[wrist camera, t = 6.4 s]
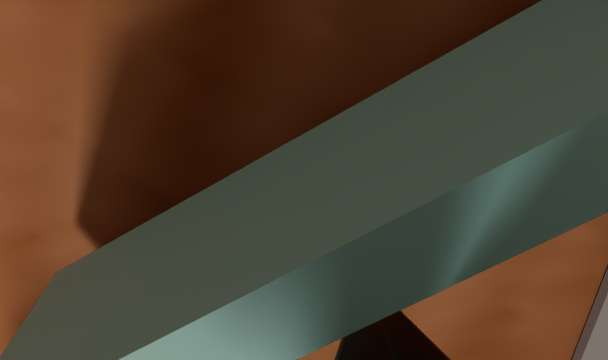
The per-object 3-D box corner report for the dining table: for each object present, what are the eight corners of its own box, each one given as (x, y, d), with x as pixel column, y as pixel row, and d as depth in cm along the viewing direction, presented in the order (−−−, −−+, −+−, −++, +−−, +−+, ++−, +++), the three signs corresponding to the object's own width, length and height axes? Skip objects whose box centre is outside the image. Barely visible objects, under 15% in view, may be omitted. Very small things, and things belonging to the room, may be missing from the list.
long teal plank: (755, -119, 9) (1148, -166, 5) (767, -51, 9) (1137, -39, 5) (56, 271, 11) (-64, 451, 7) (94, 311, 12) (-1, 500, 8)
